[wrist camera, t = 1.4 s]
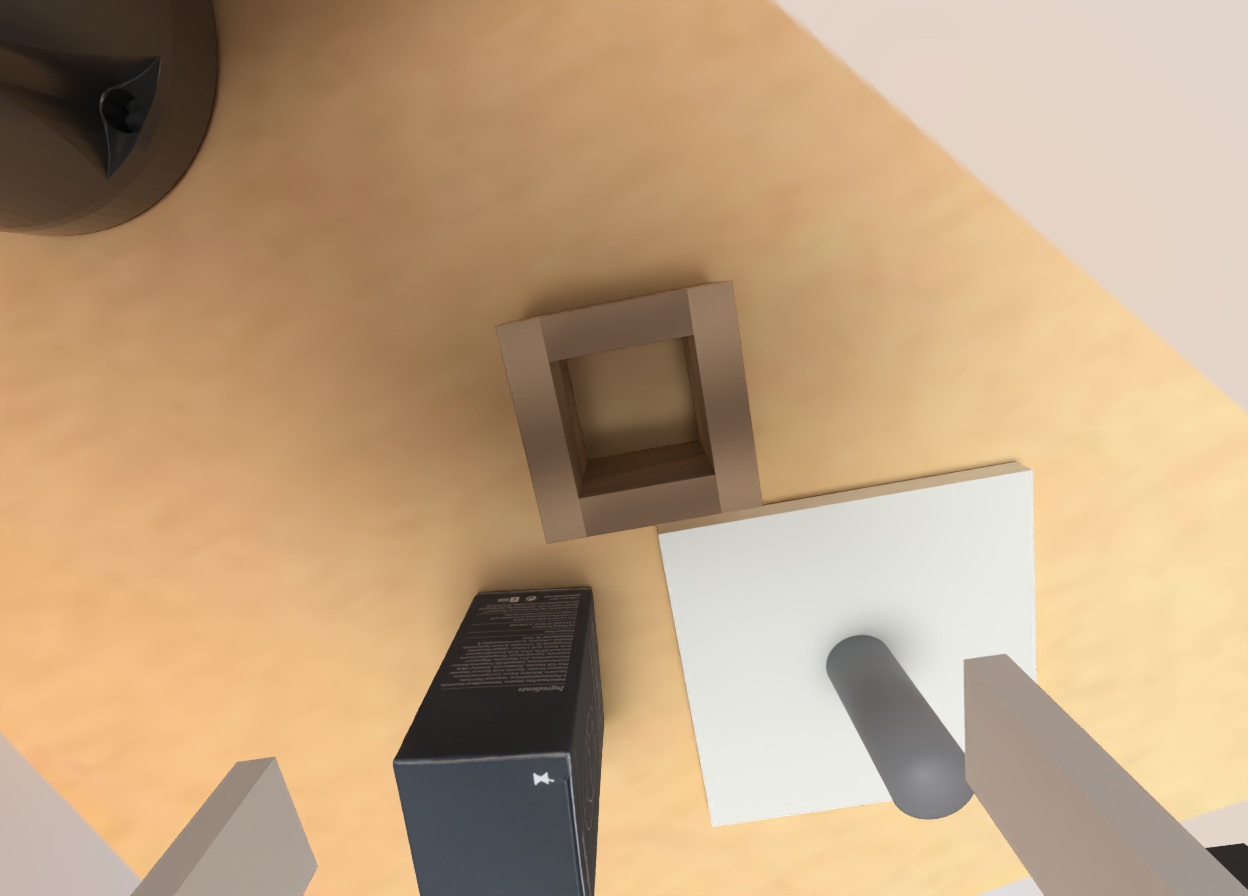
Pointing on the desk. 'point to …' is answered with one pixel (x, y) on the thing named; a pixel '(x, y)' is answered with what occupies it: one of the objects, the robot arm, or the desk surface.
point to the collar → (644, 480)
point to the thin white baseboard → (849, 639)
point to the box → (509, 752)
